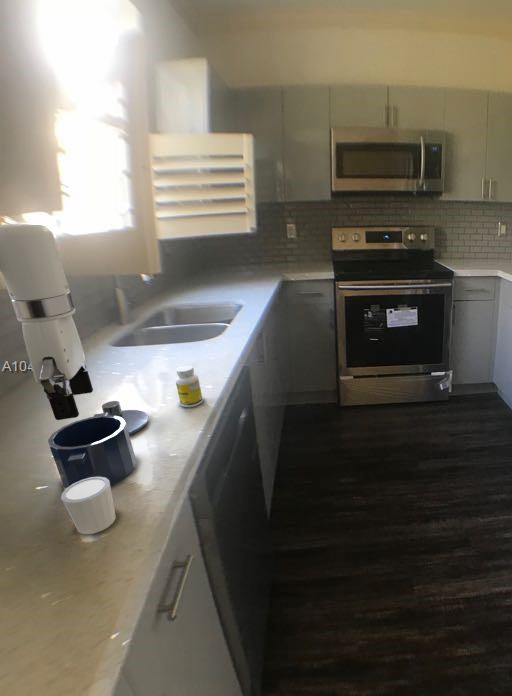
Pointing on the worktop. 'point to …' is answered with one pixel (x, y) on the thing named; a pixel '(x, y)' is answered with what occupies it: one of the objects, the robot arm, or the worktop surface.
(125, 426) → the pot
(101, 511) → the white cup
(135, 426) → the pot lid
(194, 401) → the supplement bottle
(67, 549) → the worktop surface
